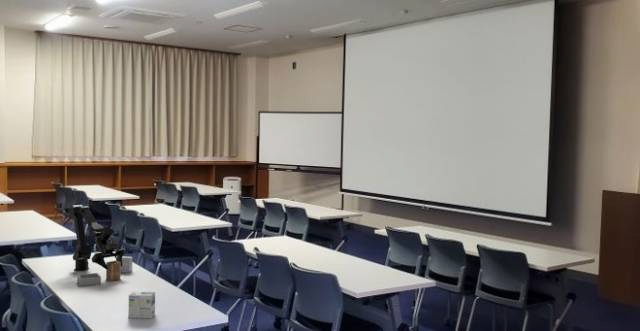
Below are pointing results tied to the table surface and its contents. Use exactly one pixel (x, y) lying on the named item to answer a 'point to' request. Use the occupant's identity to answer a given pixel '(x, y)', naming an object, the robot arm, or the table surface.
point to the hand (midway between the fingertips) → (114, 267)
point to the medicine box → (126, 264)
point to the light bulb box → (141, 305)
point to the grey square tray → (89, 279)
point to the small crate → (113, 270)
